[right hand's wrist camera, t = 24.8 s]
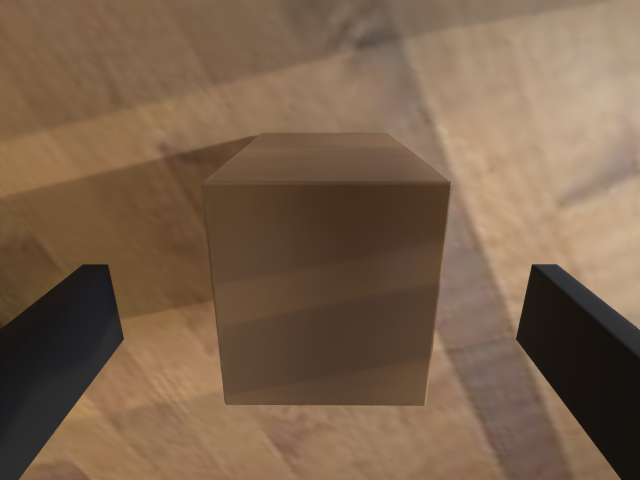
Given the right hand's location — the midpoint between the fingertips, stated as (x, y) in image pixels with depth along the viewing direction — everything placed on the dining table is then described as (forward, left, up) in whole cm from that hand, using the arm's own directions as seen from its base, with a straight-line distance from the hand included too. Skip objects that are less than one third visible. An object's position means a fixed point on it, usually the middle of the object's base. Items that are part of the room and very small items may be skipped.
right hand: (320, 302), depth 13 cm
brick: (0, 0, -12) cm, 12 cm away
